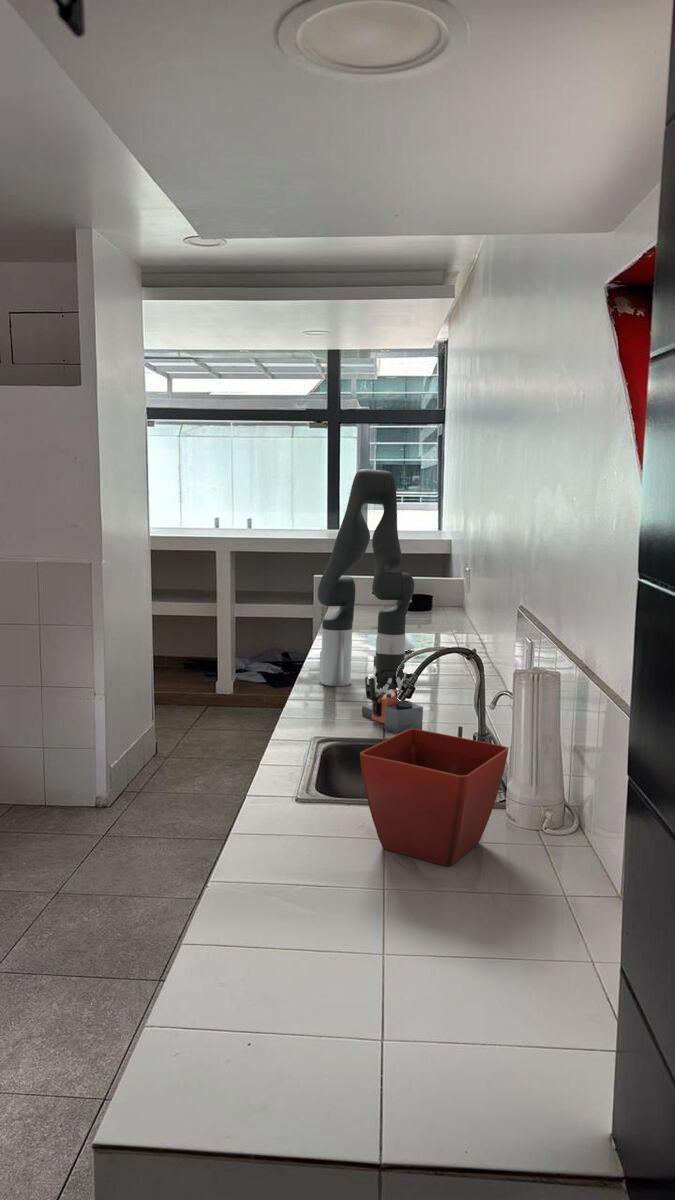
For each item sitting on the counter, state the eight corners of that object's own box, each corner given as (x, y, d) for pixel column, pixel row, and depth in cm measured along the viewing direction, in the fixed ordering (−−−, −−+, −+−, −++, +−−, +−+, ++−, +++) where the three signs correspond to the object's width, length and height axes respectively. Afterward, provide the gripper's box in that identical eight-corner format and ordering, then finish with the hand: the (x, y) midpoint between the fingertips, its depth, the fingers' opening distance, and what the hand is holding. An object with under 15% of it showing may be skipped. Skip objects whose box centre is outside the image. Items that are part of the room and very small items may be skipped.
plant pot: (459, 881, 134) (465, 775, 132) (353, 851, 144) (357, 752, 142) (505, 841, 150) (510, 746, 148) (406, 816, 160) (410, 727, 158)
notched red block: (371, 718, 225) (372, 692, 224) (390, 715, 229) (391, 690, 228) (385, 724, 220) (386, 697, 219) (404, 721, 224) (405, 695, 223)
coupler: (352, 716, 230) (353, 690, 230) (377, 712, 235) (378, 687, 234) (396, 734, 215) (398, 706, 214) (422, 730, 219) (423, 702, 218)
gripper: (403, 645, 229) (400, 708, 231) (359, 649, 221) (356, 714, 223) (421, 650, 223) (418, 714, 225) (376, 655, 215) (373, 721, 217)
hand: (387, 714), depth 224 cm, fingers closed on notched red block, 6 cm apart
